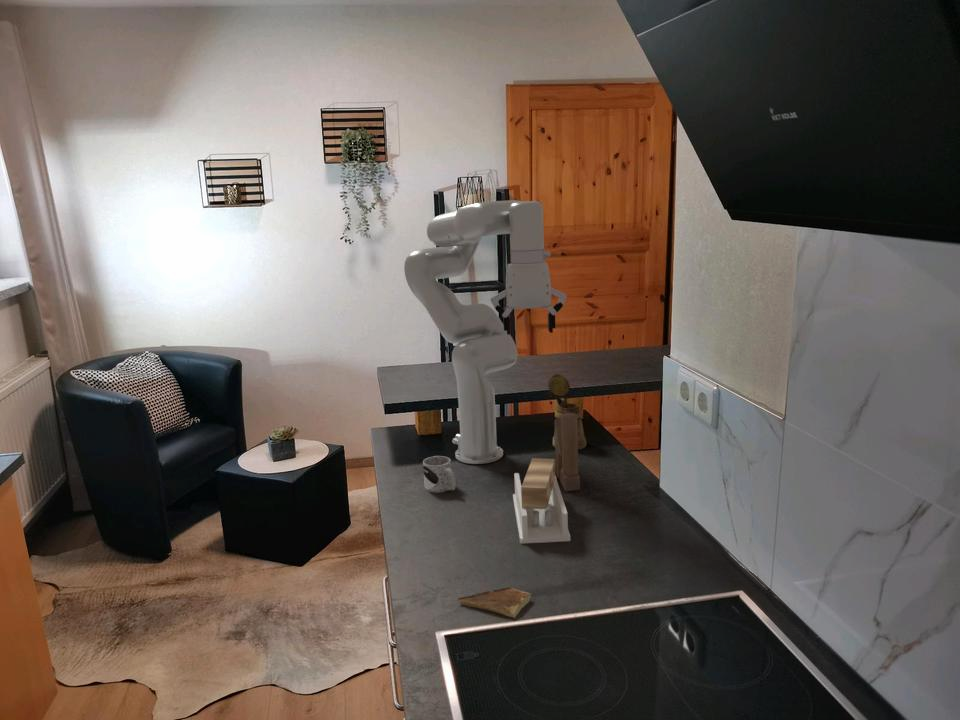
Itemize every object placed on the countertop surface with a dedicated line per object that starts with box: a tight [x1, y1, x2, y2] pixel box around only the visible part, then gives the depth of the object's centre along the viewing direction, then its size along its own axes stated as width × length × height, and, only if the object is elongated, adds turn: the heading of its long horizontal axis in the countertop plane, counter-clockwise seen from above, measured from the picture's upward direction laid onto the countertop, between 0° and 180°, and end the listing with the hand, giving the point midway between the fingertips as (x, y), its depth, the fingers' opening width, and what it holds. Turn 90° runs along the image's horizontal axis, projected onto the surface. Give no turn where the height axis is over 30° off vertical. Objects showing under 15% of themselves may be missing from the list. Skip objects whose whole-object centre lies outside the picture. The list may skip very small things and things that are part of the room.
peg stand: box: [512, 472, 571, 544], centre depth 159 cm, size 22×10×6 cm, turn 2°
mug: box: [422, 455, 457, 494], centre depth 176 cm, size 10×7×7 cm, turn 39°
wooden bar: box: [521, 457, 556, 509], centre depth 157 cm, size 16×5×4 cm, turn 168°
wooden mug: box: [548, 373, 587, 451], centre depth 202 cm, size 9×14×18 cm, turn 16°
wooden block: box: [554, 413, 581, 492], centre depth 175 cm, size 4×11×18 cm, turn 6°
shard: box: [457, 586, 531, 619], centre depth 129 cm, size 11×8×2 cm
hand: (529, 332), depth 171 cm, fingers open, 9 cm apart
